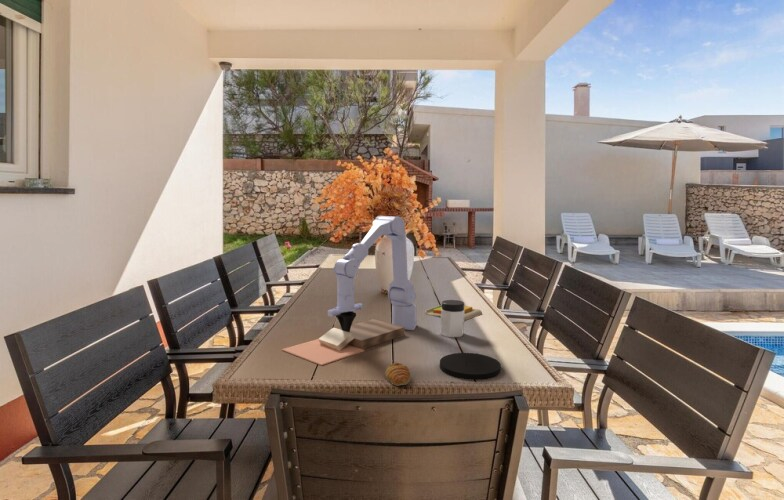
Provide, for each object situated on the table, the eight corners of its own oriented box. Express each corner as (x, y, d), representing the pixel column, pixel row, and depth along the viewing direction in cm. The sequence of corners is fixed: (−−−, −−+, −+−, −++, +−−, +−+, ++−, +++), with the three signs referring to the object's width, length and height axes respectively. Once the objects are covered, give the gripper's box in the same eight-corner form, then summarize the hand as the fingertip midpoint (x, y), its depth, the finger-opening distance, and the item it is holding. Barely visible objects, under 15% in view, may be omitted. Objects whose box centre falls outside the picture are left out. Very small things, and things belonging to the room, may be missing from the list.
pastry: (414, 386, 127) (415, 373, 127) (390, 388, 126) (390, 375, 125) (406, 373, 136) (406, 360, 136) (383, 375, 135) (383, 362, 134)
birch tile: (335, 332, 165) (333, 327, 164) (354, 338, 158) (352, 333, 157) (320, 343, 160) (318, 338, 160) (339, 350, 154) (337, 345, 153)
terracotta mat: (324, 338, 168) (324, 337, 168) (364, 351, 155) (364, 350, 154) (281, 350, 155) (281, 349, 154) (321, 365, 141) (321, 364, 141)
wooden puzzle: (446, 307, 217) (446, 300, 216) (482, 314, 205) (483, 306, 204) (423, 315, 203) (424, 307, 203) (461, 323, 191) (462, 314, 191)
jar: (443, 329, 180) (444, 298, 178) (465, 331, 177) (466, 300, 176) (438, 336, 171) (439, 304, 170) (461, 338, 169) (462, 305, 167)
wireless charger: (469, 355, 153) (469, 349, 153) (513, 372, 139) (513, 365, 139) (427, 366, 142) (427, 360, 142) (470, 386, 128) (470, 379, 128)
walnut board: (373, 326, 183) (373, 318, 183) (404, 335, 172) (404, 327, 172) (329, 339, 167) (329, 330, 166) (361, 349, 156) (361, 340, 156)
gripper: (337, 299, 152) (337, 340, 153) (369, 292, 163) (369, 331, 164) (323, 296, 157) (323, 336, 158) (355, 289, 167) (355, 327, 169)
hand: (345, 333), depth 161 cm, fingers closed
